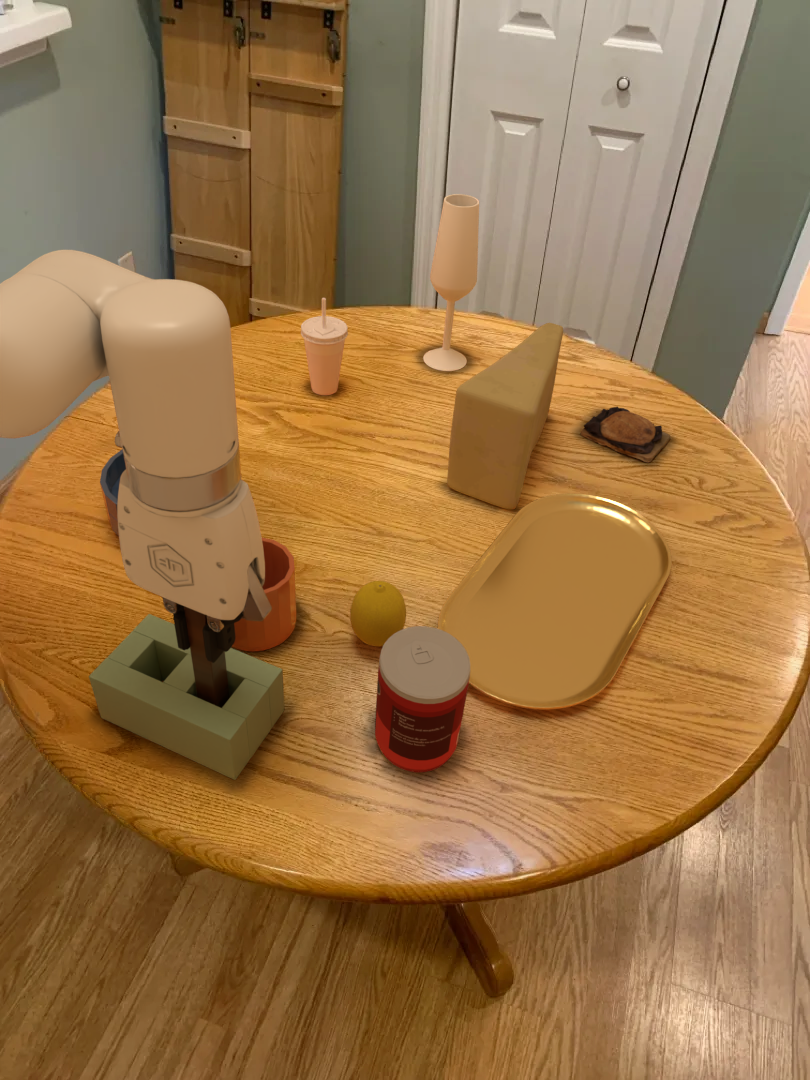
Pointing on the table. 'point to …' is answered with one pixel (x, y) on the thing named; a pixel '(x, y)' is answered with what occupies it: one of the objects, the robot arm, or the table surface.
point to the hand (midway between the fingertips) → (206, 642)
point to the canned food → (420, 697)
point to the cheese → (503, 419)
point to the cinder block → (187, 698)
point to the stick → (206, 663)
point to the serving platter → (557, 600)
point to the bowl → (112, 486)
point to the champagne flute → (454, 269)
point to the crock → (272, 602)
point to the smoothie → (324, 350)
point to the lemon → (377, 612)
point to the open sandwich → (626, 433)
